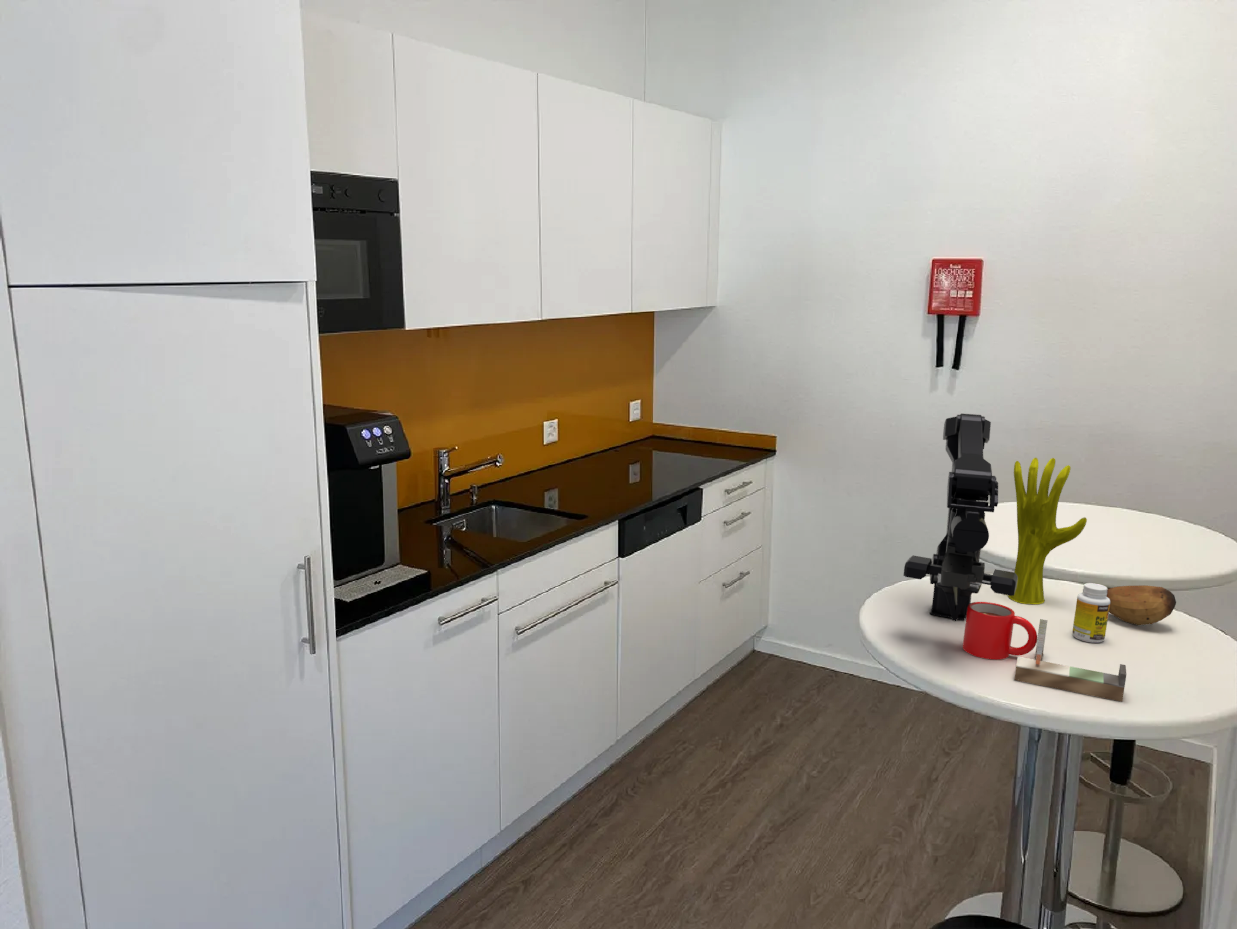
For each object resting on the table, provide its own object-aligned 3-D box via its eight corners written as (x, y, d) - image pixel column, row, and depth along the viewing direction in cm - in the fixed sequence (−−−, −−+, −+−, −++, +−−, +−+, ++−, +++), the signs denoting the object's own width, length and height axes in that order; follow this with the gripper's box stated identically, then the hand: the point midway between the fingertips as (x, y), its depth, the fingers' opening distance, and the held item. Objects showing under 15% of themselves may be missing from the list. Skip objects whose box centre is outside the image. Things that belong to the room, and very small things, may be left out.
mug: (1031, 668, 163) (1037, 625, 162) (958, 652, 169) (963, 610, 168) (1037, 654, 170) (1042, 612, 168) (966, 639, 176) (971, 598, 174)
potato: (1101, 633, 190) (1104, 602, 195) (1179, 634, 182) (1180, 602, 188) (1094, 608, 187) (1097, 578, 192) (1173, 609, 179) (1174, 576, 184)
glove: (992, 596, 200) (1009, 456, 194) (1005, 587, 207) (1022, 451, 201) (1067, 614, 191) (1087, 468, 185) (1078, 605, 197) (1098, 462, 191)
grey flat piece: (1031, 679, 158) (1036, 645, 157) (1035, 650, 171) (1040, 619, 169) (1039, 680, 158) (1044, 646, 157) (1043, 652, 170) (1047, 620, 169)
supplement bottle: (1093, 646, 175) (1101, 592, 173) (1065, 636, 179) (1072, 584, 177) (1110, 640, 178) (1118, 588, 176) (1082, 630, 182) (1089, 579, 180)
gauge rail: (1014, 680, 158) (1017, 654, 157) (1016, 670, 162) (1019, 645, 161) (1122, 701, 152) (1126, 674, 151) (1121, 691, 156) (1125, 665, 155)
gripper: (902, 538, 166) (893, 623, 169) (1017, 557, 158) (1005, 645, 161) (913, 524, 176) (904, 605, 179) (1022, 541, 168) (1011, 625, 171)
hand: (954, 620), depth 172 cm, fingers closed
